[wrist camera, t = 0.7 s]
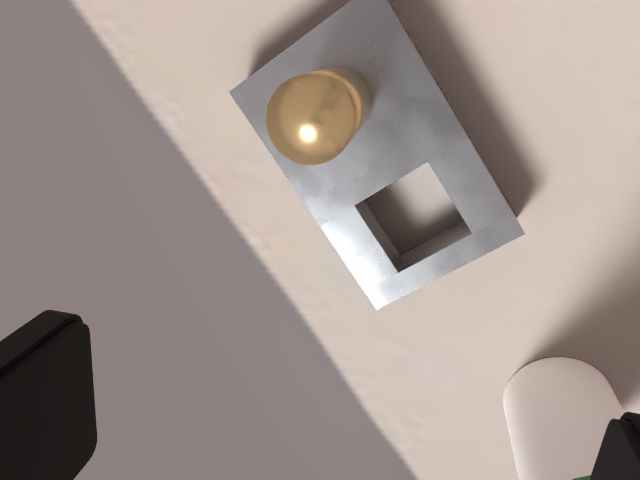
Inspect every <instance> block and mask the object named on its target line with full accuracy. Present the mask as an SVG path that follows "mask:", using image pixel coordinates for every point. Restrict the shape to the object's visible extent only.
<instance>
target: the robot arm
mask: <svg viewBox="0 0 640 480" xmlns="http://www.w3.org/2000/svg"><path fill="white" fill-rule="evenodd" d="M93 387H94V386H93V372H92V357H91V343H90V331H89V328H88V326H87V325H86V324H83V321H82V319H81V317H80V316H78V315H76V314H70V313H65V312H60V311H54V310H46V311H44V312H42V313H41V314H39V315H38V316H36V317H35V318H33V319H32V320H31V321H29V322H28V323H26V324H25V325H23V326H22V327H20V328H19V329H18V330H16V331H15V332H13V333H12V334H10V335H9V336H7V337H6V338H5V339H3V340H2V341H0V480H73V479H74V478H75V477H76V476H77V474H78V473H79V472H80V471H81V469H82V468H83V467H84V466H85V465H86V463H87V462H88V461H89V460H90V458H91V457H92V455H93V453H94V451H95V447H96V443H97V429H96V415H95V401H94V388H93ZM589 480H640V414H637V413H631V412H626V413H624V414H623V415H622V416H621V418H620V419H611V420H610V422H609V423H608V426H607V429H606V432H605V435H604V437H603V440H602V443H601V446H600V449H599V452H598V455H597V458H596V461H595V464H594V467H593V470H592V473H591V476H590V479H589Z"/></svg>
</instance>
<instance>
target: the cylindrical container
mask: <svg viewBox="0 0 640 480" xmlns="http://www.w3.org/2000/svg"><path fill="white" fill-rule="evenodd" d="M503 407H504V411H505V416H506V421H507V425H508V430H509V435H510V440H511V444H512V449H513V454H514V458H515V463H516V468H517V473H518V477H519V480H589V479H590V476H591V473H592V470H593V467H594V464H595V461H596V458H597V455H598V452H599V449H600V446H601V443H602V440H603V437H604V435H605V432H606V429H607V426H608V423H609V422H610V420H611V419H620V418H621V416H622V415H623V414H624V413H625V412H624V411H623V409H622V407H621V405H620V403H619V401H618V399H617V398H616V396H615V394H614V392H613V390H612V388H611V386H610V385H609V383H608V381H607V379H606V378H605V377H604V376H603V375H602V373H601V372H599V371H598V370H597V369H595V368H594V367H593V366H591V365H589V364H587V363H585V362H583V361H580V360H577V359H573V358H566V357H551V358H545V359H540V360H537V361H535V362H532V363H530V364H528V365H526V366H524V367H523V368H521V369H520V370H519V371H518V372H517V373H515V374H514V375H513V377H512V378H511V379H510V381H509V382H508V384H507V386H506V388H505V392H504V396H503Z"/></svg>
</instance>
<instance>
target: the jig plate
mask: <svg viewBox="0 0 640 480" xmlns="http://www.w3.org/2000/svg"><path fill="white" fill-rule="evenodd" d="M331 67H345V68H348V69H351V70H353V71H355V72H356V73H358V74H359V75H360V76H361V77H362V78H363V79H364V80H365V82H366V83H367V85H368V87H369V89H370V93H371V99H372V104H371V110H370V114H369V116H368V118H367V120H366V122H365V123H364V124H363V126H362V127H361V128H360V129H359V131H358V132H357V133H356V135H355V136H354V137H353V138H352V140H351V141H350V142H349V144H348V145H347V146H346V147H345V149H344V150H343V151H342V152H341V153H340V154H339V155H338V156H337V157H335V158H334V159H332V160H330V161H328V162H326V163H323V164H318V165H303V164H299V163H296V162H294V161H292V160H290V159H288V158H287V157H285V156H284V155H283V154H281V153H280V152H279V151H278V149H277V148H276V147H275V146H274V144H273V143H272V141H271V139H270V137H269V134H268V130H267V126H266V111H267V106H268V103H269V101H270V98H271V96H272V95H273V93H274V92H275V90H276V89H277V88H278V87H279V86H280V85H281V84H282V83H284V82H285V81H286V80H288V79H290V78H292V77H295V76H298V75H302V74H306V73H310V72H314V71H319V70H323V69H327V68H331ZM229 93H230V94H231V96H232V97H233V99H234V100H235V102H236V103H237V105H238V106H239V107H240V109H241V110H242V112H243V113H244V115H245V116H246V118H247V119H248V121H249V122H250V124H251V125H252V127H253V128H254V130H255V131H256V133H257V134H258V135H259V137H260V138H261V140H262V141H263V143H264V144H265V146H266V147H267V149H268V150H269V152H270V153H271V155H272V156H273V158H274V159H275V161H276V162H277V164H278V165H279V166H280V168H281V169H282V171H283V172H284V174H285V175H286V177H287V178H288V180H289V181H290V183H291V184H292V186H293V187H294V189H295V190H296V192H297V193H298V195H299V196H300V197H301V199H302V200H303V202H304V203H305V205H306V206H307V208H308V209H309V211H310V212H311V214H312V215H313V217H314V218H315V220H316V221H317V223H318V224H319V225H320V227H321V228H322V230H323V231H324V233H325V234H326V236H327V237H328V239H329V240H330V242H331V243H332V245H333V246H334V248H335V249H336V251H337V252H338V254H339V255H340V256H341V258H342V259H343V261H344V262H345V264H346V265H347V267H348V268H349V270H350V271H351V273H352V274H353V276H354V277H355V279H356V280H357V282H358V283H359V285H360V286H361V287H362V289H363V290H364V292H365V293H366V295H367V296H368V298H369V299H370V301H371V302H372V304H373V305H374V307H375V308H376V310H378V309H380V308H382V307H384V306H386V305H388V304H389V303H391V302H393V301H395V300H397V299H399V298H401V297H403V296H405V295H407V294H409V293H411V292H413V291H415V290H417V289H419V288H421V287H423V286H425V285H426V284H428V283H430V282H432V281H434V280H436V279H438V278H440V277H442V276H444V275H446V274H448V273H450V272H452V271H454V270H456V269H458V268H460V267H462V266H463V265H465V264H467V263H469V262H471V261H473V260H475V259H477V258H479V257H481V256H483V255H485V254H487V253H489V252H491V251H493V250H495V249H497V248H499V247H501V246H502V245H504V244H506V243H508V242H510V241H512V240H514V239H516V238H518V237H520V236H522V235H524V234H525V233H524V231H523V229H522V227H521V225H520V223H519V221H518V219H517V218H516V216H515V214H514V212H513V211H512V209H511V207H510V206H509V204H508V202H507V201H506V199H505V197H504V196H503V194H502V192H501V191H500V189H499V187H498V185H497V184H496V182H495V180H494V179H493V177H492V175H491V174H490V172H489V170H488V169H487V167H486V165H485V164H484V162H483V160H482V159H481V157H480V155H479V153H478V152H477V150H476V148H475V147H474V145H473V143H472V142H471V140H470V138H469V137H468V135H467V133H466V132H465V130H464V128H463V126H462V125H461V123H460V121H459V120H458V118H457V116H456V115H455V113H454V111H453V110H452V108H451V106H450V105H449V103H448V101H447V100H446V98H445V96H444V94H443V93H442V91H441V89H440V88H439V86H438V84H437V83H436V81H435V79H434V78H433V76H432V74H431V73H430V71H429V69H428V67H427V66H426V64H425V62H424V61H423V59H422V57H421V56H420V54H419V52H418V51H417V49H416V47H415V46H414V44H413V42H412V41H411V39H410V37H409V35H408V34H407V32H406V30H405V29H404V27H403V25H402V24H401V22H400V20H399V19H398V17H397V15H396V14H395V12H394V10H393V9H392V7H391V5H390V3H389V2H388V0H351V1H349V2H348V3H347V4H345V5H344V6H343V7H341V8H340V9H339V10H337V11H336V12H335V13H333V14H332V15H331V16H329V17H328V18H327V19H325V20H324V21H323V22H321V23H320V24H319V25H317V26H316V27H315V28H313V29H312V30H311V31H309V32H308V33H307V34H305V35H304V36H303V37H301V38H300V39H299V40H298V41H296V42H295V43H294V44H292V45H291V46H290V47H288V48H287V49H286V50H284V51H283V52H282V53H280V54H279V55H278V56H276V57H275V58H274V59H272V60H271V61H270V62H268V63H267V64H266V65H264V66H263V67H262V68H260V69H259V70H258V71H256V72H255V73H254V74H252V75H251V76H250V77H248V78H247V79H246V80H244V81H243V82H242V83H240V84H239V85H238V86H236V87H235V88H234V89H232V90H231V91H230V92H229ZM426 162H428V163H429V164H430V166H431V167H432V169H433V171H434V172H435V174H436V176H437V177H438V179H439V180H440V182H441V184H442V185H443V187H444V188H445V190H446V192H447V193H448V195H449V197H450V198H451V200H452V201H453V203H454V205H455V206H456V208H457V210H458V211H459V213H460V214H461V216H462V218H463V219H464V221H463V222H461V223H459V224H457V225H455V226H453V227H452V228H450V229H448V230H446V231H444V232H442V233H441V234H439V235H437V236H435V237H433V238H431V239H430V240H428V241H426V242H424V243H422V244H420V245H418V246H417V247H415V248H413V249H411V250H409V251H407V252H406V253H404V254H402V255H400V254H399V252H398V251H397V249H396V248H395V246H394V245H393V243H392V242H391V240H390V238H389V237H388V235H387V234H386V232H385V231H384V229H383V228H382V226H381V225H380V223H379V222H378V220H377V219H376V217H375V215H374V214H373V212H372V211H371V209H370V208H369V206H368V205H367V203H366V202H365V200H364V199H366V198H368V197H369V196H371V195H373V194H374V193H376V192H378V191H379V190H381V189H383V188H385V187H386V186H388V185H390V184H391V183H393V182H395V181H396V180H398V179H400V178H401V177H403V176H405V175H406V174H408V173H410V172H411V171H413V170H415V169H416V168H418V167H420V166H421V165H423V164H425V163H426Z"/></svg>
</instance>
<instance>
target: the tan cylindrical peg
mask: <svg viewBox="0 0 640 480" xmlns="http://www.w3.org/2000/svg"><path fill="white" fill-rule="evenodd" d="M371 104H372V99H371V93H370V89H369V87H368V85H367V83H366V82H365V80H364V79H363V78H362V77H361V76H360V75H359V74H358V73H356V72H355V71H353V70H351V69H348V68H345V67H331V68H327V69H323V70H319V71H314V72H310V73H306V74H302V75H298V76H295V77H292V78H290V79H288V80H286V81H285V82H284V83H282V84H281V85H280V86H279V87H278V88H277V89H276V90H275V92H274V93H273V95H272V96H271V98H270V101H269V103H268V106H267V111H266V126H267V130H268V134H269V137H270V139H271V141H272V143H273V144H274V146H275V147H276V148H277V149H278V151H279V152H280V153H281V154H283V155H284V156H285V157H287V158H288V159H290V160H292V161H294V162H296V163H299V164H303V165H318V164H323V163H326V162H328V161H330V160H332V159H334V158H335V157H337V156H338V155H339V154H340V153H341V152H342V151H343V150H344V149H345V147H346V146H347V145H348V144H349V142H350V141H351V140H352V138H353V137H354V136H355V135H356V133H357V132H358V131H359V129H360V128H361V127H362V126H363V124H364V123H365V122H366V120H367V118H368V116H369V114H370V110H371Z"/></svg>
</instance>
